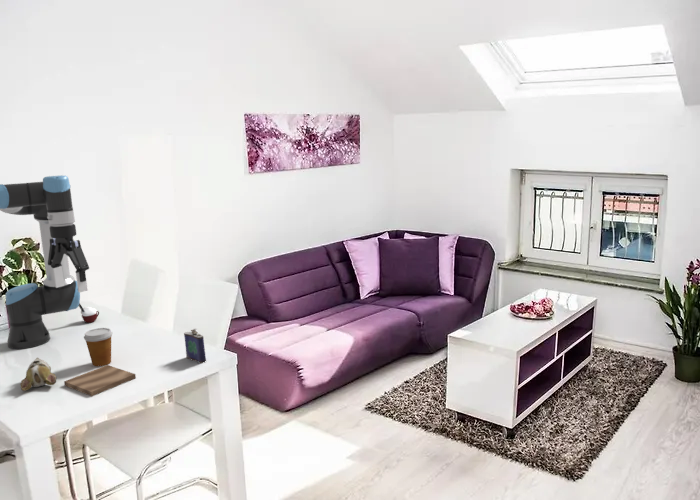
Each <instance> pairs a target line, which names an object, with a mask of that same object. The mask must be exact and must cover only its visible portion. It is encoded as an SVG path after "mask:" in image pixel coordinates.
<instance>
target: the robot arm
mask: <svg viewBox="0 0 700 500" xmlns="http://www.w3.org/2000/svg"><path fill="white" fill-rule="evenodd" d="M0 211H1V212H2V213H5V214H9V215H14V216H16V215H17V216H27V215H28V216H31V215H33V219H34V220H36V221H37V222H38V224H39V231H40V233H39V234H40V240H41V246H42V252H43V262H44V268H45V274H46V277H45V279H44V280H43V281H42V283H43V284H42V285H41V286H40V285H39V286H38V284H37V283H34V282H32V283H26V284H21V285H18V286H15V287H12V288H10V289H8V290H7V291H6V292H5V305H6V308H7V316H8V320H9V321H8V322H9V331H8V336H7V347H8V348H10V349H15V350H16V349H17V350H19V349H28V348H29V349H30V348H33V347H38V346H41V345H43V344H45V343H47V342H49V341H50V340H51V336H50V335H51V334H50V333H49V330H48V329H47V327H46V325H45V324H44V323H45V322H44V321H43V315H50V314H57V313H62V312H69V311H72V310H76V309H78V308H79V303H80V301H81V293H83V292H86V291H89V289H88V283H87V277H86V275H87V274H86V271H88V270H90V267H89V263H88V261H87V258H86V256H85V254H84V251H83V249H82V246H81V241H80V240H79V239H78V240H74V237H76V236H77V228H76V224H75V222H76V219H75V213H74V207H73V202H72V193H71V184H70V180H69V176H68V175H63V174H62V175H49V176H44V177H43V178H42V181H37V182H36V181H34V182H24V183H21V182H19V183H6V184H2V183H1V184H0ZM69 259H70V261H71V263H72V265H73V266H74V268H75V277H76V278H75V277H74V276H72V275H71V273H70V266H69V265H70V264H69ZM75 279H76V280H75ZM80 304H81V303H80Z"/></svg>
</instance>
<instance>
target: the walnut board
mask: <svg viewBox="0 0 700 500" xmlns="http://www.w3.org/2000/svg"><path fill="white" fill-rule="evenodd" d="M136 376H137V375H136V373H133V372H130V371H128V370H124V369H121V368H118V367H115V366H111V365H109V364H108V365H105V366H100V367H98V368H96V369H93V370H91V371H88V372H86V373H82V374H80V375H78V376H75V377H72V378H70V379H66V380H64V381H63V383H64V386H65V387H67V388H70V389H72V390H76V391H78V392H80V393H82V394H85V395H87V396H90V397H94V396H95V395H99V394H101V393H103V392H106V391H109V390H110V389H114V388H115V387H119V386H120V385H122V384H125V383H127V382H128V383H129V382H130V381H133V380H135V379H136V378H137V377H136Z"/></svg>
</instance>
